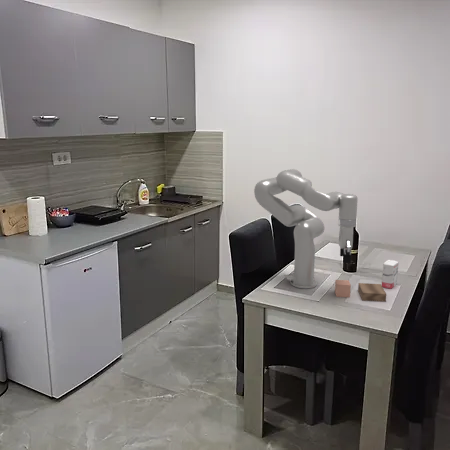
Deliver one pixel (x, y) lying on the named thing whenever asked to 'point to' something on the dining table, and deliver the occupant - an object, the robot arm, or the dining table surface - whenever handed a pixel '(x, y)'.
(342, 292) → the clay cube
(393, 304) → the dining table surface
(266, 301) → the dining table surface
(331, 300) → the dining table surface
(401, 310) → the dining table surface
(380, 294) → the walnut block
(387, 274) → the ink box
